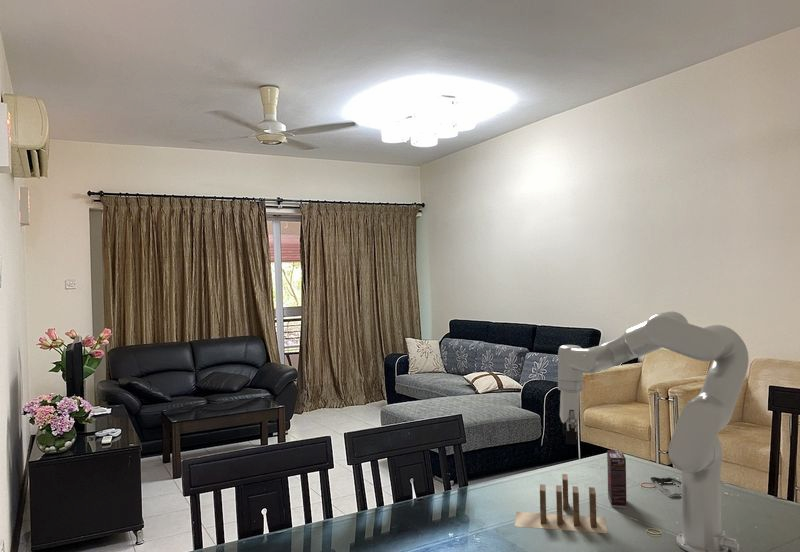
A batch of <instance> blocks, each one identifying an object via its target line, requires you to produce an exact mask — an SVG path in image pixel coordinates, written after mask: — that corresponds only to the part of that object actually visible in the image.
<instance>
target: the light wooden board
mask: <svg viewBox="0 0 800 552" xmlns="http://www.w3.org/2000/svg"><path fill="white" fill-rule="evenodd" d="M562 515H563V525H557V513H546V524H541V520H540V512H527V511H516V515H515V521H514V527H518V528H529V529H530V528H531V529H545V530H557V531H558V530H559V531H571V532H572V531H573V532H584V533H585V532H586V533H596V534H597V533H598V534H601V533H602V534H608V529H607V528H608V527H607V524H606V520H605V517H600V516H596V521H597V528H591V525H590V515H589V516H585V515H579V522H580V527H576V526H574V521H573V514H562Z"/></svg>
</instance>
